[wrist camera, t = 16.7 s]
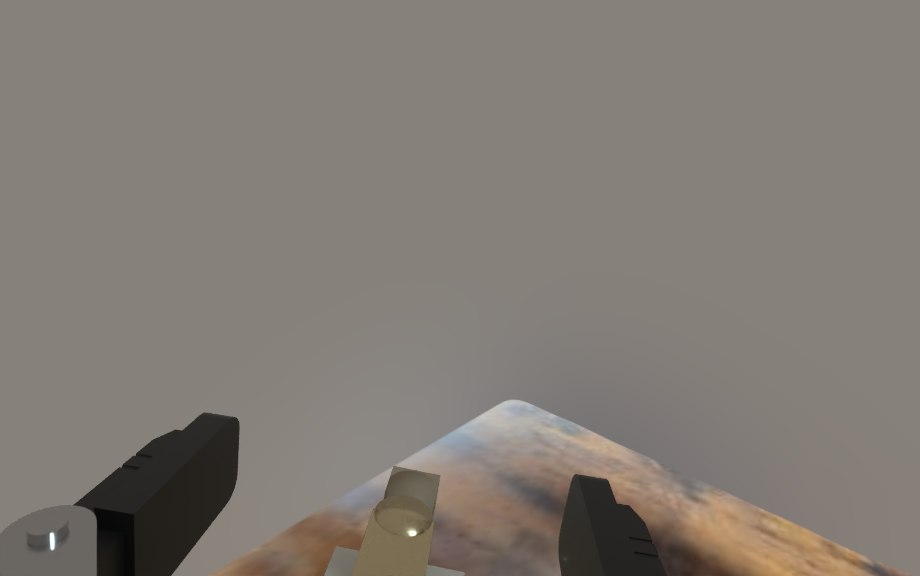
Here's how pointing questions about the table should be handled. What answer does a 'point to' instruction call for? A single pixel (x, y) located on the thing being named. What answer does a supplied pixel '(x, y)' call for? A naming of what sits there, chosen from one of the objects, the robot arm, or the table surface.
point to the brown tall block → (396, 539)
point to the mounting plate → (350, 558)
